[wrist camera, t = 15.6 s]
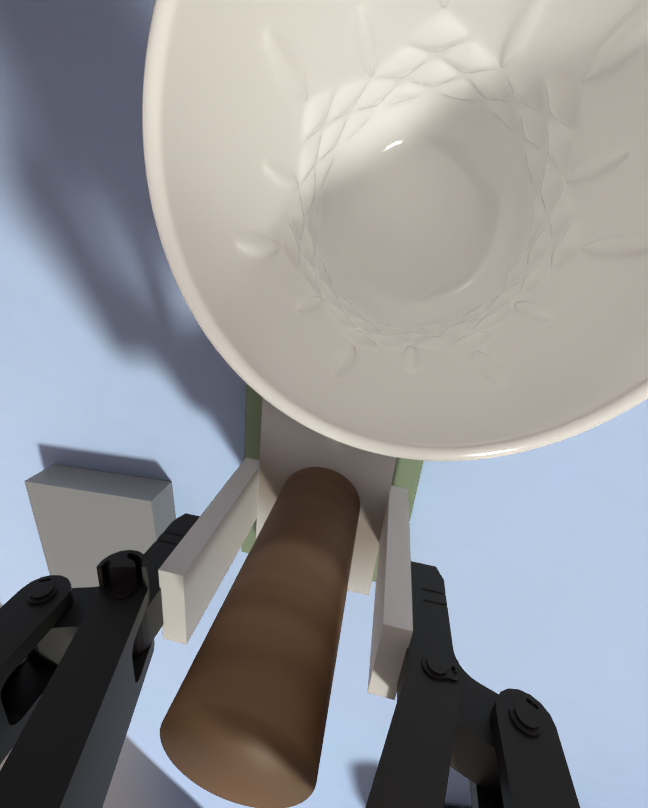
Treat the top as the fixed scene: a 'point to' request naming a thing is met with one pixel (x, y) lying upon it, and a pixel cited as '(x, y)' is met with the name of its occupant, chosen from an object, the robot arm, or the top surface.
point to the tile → (95, 517)
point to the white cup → (410, 210)
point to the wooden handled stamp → (281, 621)
